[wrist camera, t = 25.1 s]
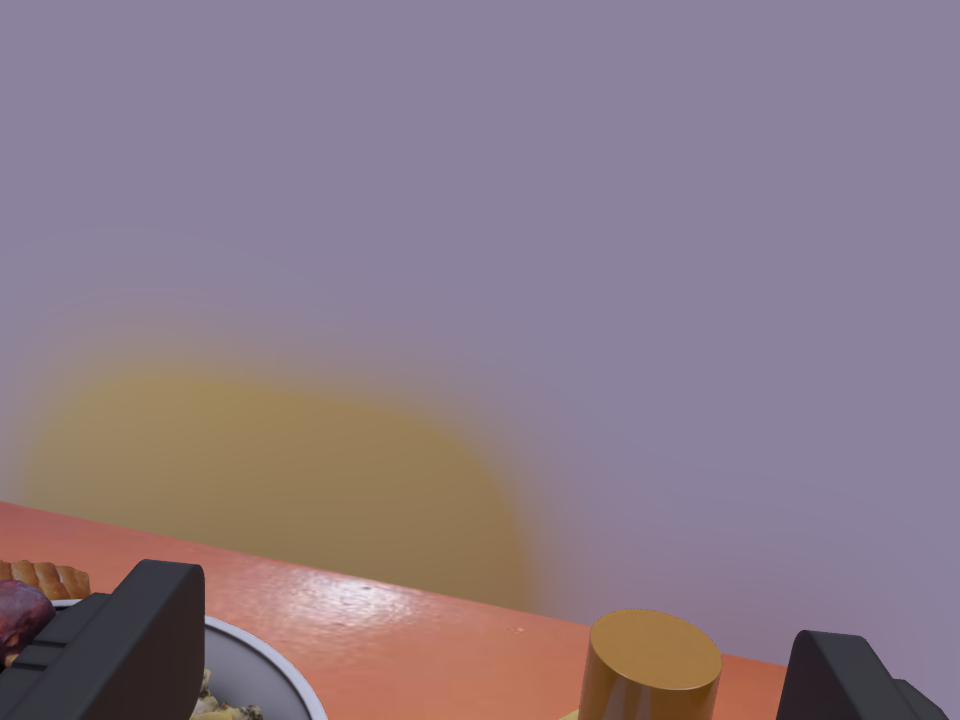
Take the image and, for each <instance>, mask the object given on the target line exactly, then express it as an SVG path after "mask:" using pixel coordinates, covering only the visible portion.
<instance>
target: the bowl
mask: <svg viewBox="0 0 960 720" xmlns="http://www.w3.org/2000/svg"><path fill="white" fill-rule="evenodd" d="M81 600H83V599H76V600H53V601H50V600H49V598H48V597H46V596H45V594H43V593H42V592H41V591H40V590H38V589H37V588H36V587H33V586H31V585H27V584H26V583H24V582H22V581H20V580H15V579H4V580H0V674H1V673H2V672H3V671H4V670H5V669H6V668H10V667H11V665H12V661H13V660H14V659H15V658H16V657H17V656H18V655H19V654H20V653H21V652H22V651H23V650H24V649H25V648H26V647H27V646H28V645H32V643H33V639H34V638H35V637H36V636H37V635H38V634H39V633H40V632H41V631H42V630H43V629H44V628H45V627H46V626H47V625H48V624H49V622H50V621H51V620H52V619H53V618H54V617H55V616H56V615H57V614H58V613H60V612H61V611H63V610H65V609H67V608H69V607H70V606H72V605H74V604H76V603H77V602H79V601H81ZM189 720H328V718H327V716H326V713H325V711H324V709H323V707H322V705H321V703H320V701H319V699H318V697H317V695H316V694H315V692H314V691H313V689H312V688H311V686H310V685H309V683H308V682H307V681H306V680H305V678H304V677H303V676H302V674H301V673H300V672H299V671H298V670H297V669H296V668H295V667H294V666H293V665H292V664H291V663H290V662H289V661H288V660H287V659H286V658H285V657H283V656H282V655H281V654H280V653H279V652H277V651H276V650H275V649H273V648H272V647H271V646H269V645H268V644H266V643H265V642H263V641H262V640H260V639H258V638H257V637H255V636H253V635H251V634H250V633H248V632H246V631H244V630H242V629H240V628H238V627H235V626H233V625H231V624H228V623H226V622H223V621H221V620H218V619H215V618H212V617H209V616H206V615H205V667H204V676H203V682H202V687H201V691H200V694H199V698H198V701H197V704H196V706H195V709H194V711H193V713H192V715H191V717H190V719H189Z"/></svg>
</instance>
